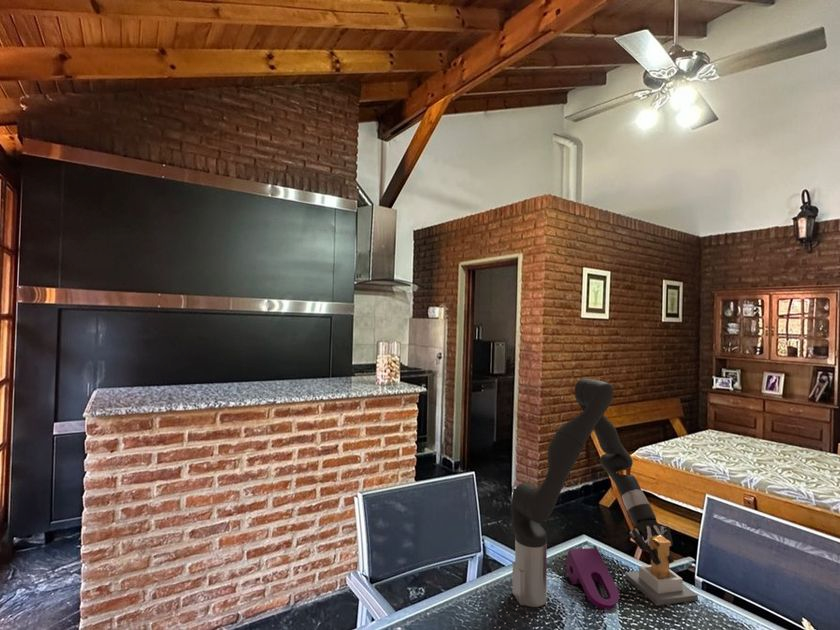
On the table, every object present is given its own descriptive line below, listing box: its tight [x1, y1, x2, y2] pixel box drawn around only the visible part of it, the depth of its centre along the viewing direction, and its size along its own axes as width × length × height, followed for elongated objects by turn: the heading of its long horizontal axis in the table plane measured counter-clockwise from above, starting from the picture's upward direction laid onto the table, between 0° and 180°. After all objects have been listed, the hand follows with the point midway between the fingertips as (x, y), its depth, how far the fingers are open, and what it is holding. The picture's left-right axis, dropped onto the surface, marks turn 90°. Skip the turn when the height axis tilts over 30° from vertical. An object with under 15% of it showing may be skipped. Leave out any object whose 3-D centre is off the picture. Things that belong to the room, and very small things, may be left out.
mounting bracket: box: [565, 547, 620, 610], centre depth 135 cm, size 9×8×18 cm
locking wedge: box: [650, 535, 672, 578], centre depth 136 cm, size 4×4×11 cm
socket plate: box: [625, 564, 699, 606], centre depth 135 cm, size 14×14×5 cm
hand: (664, 563), depth 134 cm, fingers closed on locking wedge, 4 cm apart
